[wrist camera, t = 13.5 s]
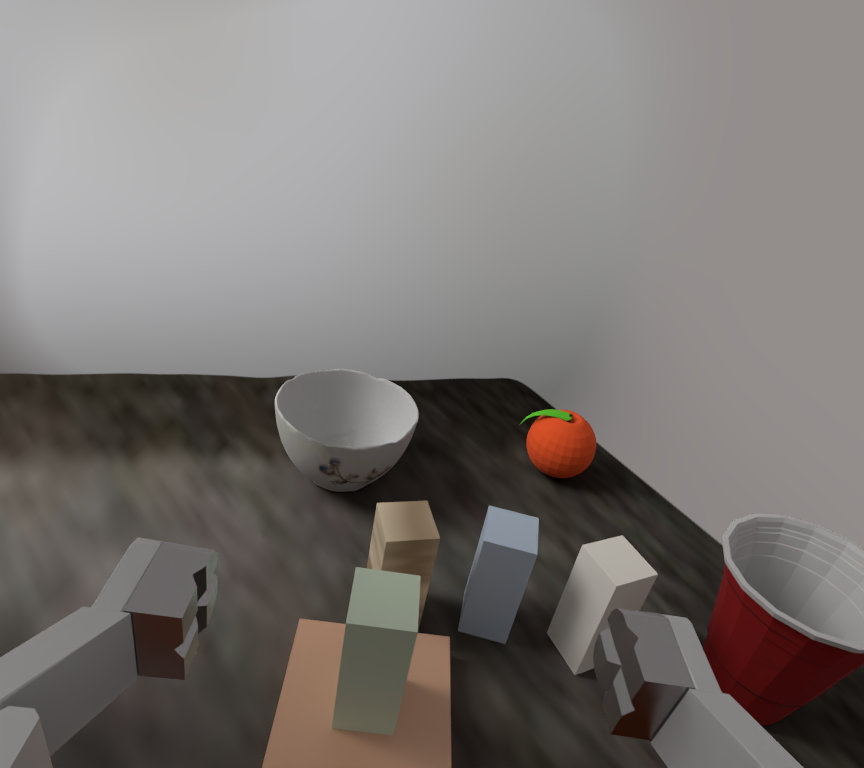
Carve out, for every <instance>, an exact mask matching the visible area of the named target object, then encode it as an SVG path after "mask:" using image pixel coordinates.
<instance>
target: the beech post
mask: <svg viewBox="0 0 864 768" xmlns="http://www.w3.org/2000/svg"><path fill="white" fill-rule="evenodd" d="M439 541H440V536H439V533H438V531H437V528H436V525H435V522H434V519H433V516H432V513H431V510H430V507H429V504H428V501H408V502H386V503H377V505H376V512H375V518H374V525H373V531H372V538H371V544H370V551H369V557H368V564H367V569H374V570H381V571H389V572H396V573H404V574H411V575H419V576H421V579H420V599H419V618H418V630H419V626H420V622H421V618H422V614H423V609H424V605H425V601H426V597H427V592H428V588H429V584H430V580H431V575H432V571H433V567H434V563H435V558H436V554H437V550H438V546H439Z"/></svg>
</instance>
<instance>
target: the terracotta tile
mask: <svg viewBox="0 0 864 768" xmlns="http://www.w3.org/2000/svg"><path fill="white" fill-rule="evenodd" d="M345 626H346V624H341V623H333V622H324V621H316V620H308V619H300V620H299V624H298V628H297V632H296V635H295V639H294V643H293V647H292V651H291V655H290V659H289V663H288V667H287V671H286V675H285V679H284V683H283V687H282V691H281V695H280V698H279V702H278V706H277V710H276V714H275V718H274V722H273V726H272V730H271V734H270V738H269V742H268V746H267V750H266V754H265V758H264V761H263V765H262V768H451V698H450V637H448V636H440V635H431V634H423V633H417V638H416V642H415V646H414V651H413V655H412V659H411V663H410V668H409V672H408V676H407V680H406V685H405V689H404V693H403V698H402V702H401V706H400V710H399V715H398V719H397V723H396V727H395V732H394V736H393V735H385V734H376V733H368V732H359V731H350V730H342V729H333V728H332V721H333V714H334V706H335V699H336V692H337V685H338V677H339V670H340V663H341V655H342V648H343V641H344V634H345Z"/></svg>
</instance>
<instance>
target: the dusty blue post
mask: <svg viewBox="0 0 864 768" xmlns="http://www.w3.org/2000/svg"><path fill="white" fill-rule="evenodd" d="M538 525H539V518H536V517H532V516H528V515H524V514H521V513H517V512H513V511H509V510H505V509H501V508H497V507H493V506H489V508H488V511H487V515H486V518H485V522H484V525H483V529H482V532H481V536H480V540H479V543H478V547H477V550H476V554H475V557H474V561H473V564H472V568H471V571H470V575H469V579H468V582H467V586H466V589H465V593H464V598H463V604H462V609H461V615H460V621H459V626H458V631H459V632H463V633H467V634H470V635H474V636H477V637H481V638H485V639H488V640H492V641H495V642H499V643H503V644H506V641H507V638H508V635H509V633H510V630H511V627H512V624H513V621H514V619H515V616H516V613H517V610H518V607H519V605H520V602H521V599H522V596H523V593H524V591H525V588H526V585H527V582H528V580H529V577H530V574H531V571H532V568H533V566H534V563H535V560H536V557H537V551H538Z"/></svg>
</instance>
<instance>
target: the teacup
mask: <svg viewBox="0 0 864 768" xmlns="http://www.w3.org/2000/svg"><path fill="white" fill-rule="evenodd" d="M275 413H276V422H277V427H278V431H279V434H280V438H281V441H282V444H283V446H284V448H285V450H286V452H287V454H288V456H289V457H290V459H291V461H292V462H293V463H294V464H295V466H296V467H297V468H298V469H299V470H300V471H301V472H302V473H303V474H304V475H305V476H307V477H308V478H309V479H311V480H312V481H313V482H314V483H315V484H316V485H318V486H320V487H322V488H325V489H328V490H331V491H336V492H346V491H356V490H358V489H360V488H363V487H365V486H366V485H367V484H369V483H371V482H373V481H375V480H377V479H378V478H380V477H381V476H383V475H384V474H385V473H387V472H388V471H389V470H390V469H391V468H392V467H393V466H394V465H395V464H396V463H397V461H398V460H399V459H400V457H401V456H402V455H403V453H404V451H405V450H406V448H407V446H408V444H409V442H410V440H411V438H412V435H413V433H414V430H415V427H416V425H417V422H418V418H419V414H418V409H417V407H416V403H415V402H414V400H413V399H412V397H411V395H409V394H408V393H407V392H406V391H405V390H404V389H403V388H401V387H400V386H398V385H396V384H394V383H392V382H390V381H388V380H386V379H384V378H380V379H378V378H374V377H373V376H372V375H369V374H367V373H364V372H360V371H355V370H349V369H336V370H321V371H317V372H312V373H304V374H300V375H298V376H296V377H295V378H294V379H292V380H288V381H286V382H285V383H284V384H283V385H282V386H281V388H280V389H279V391H278V392H277V395H276V397H275Z"/></svg>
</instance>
